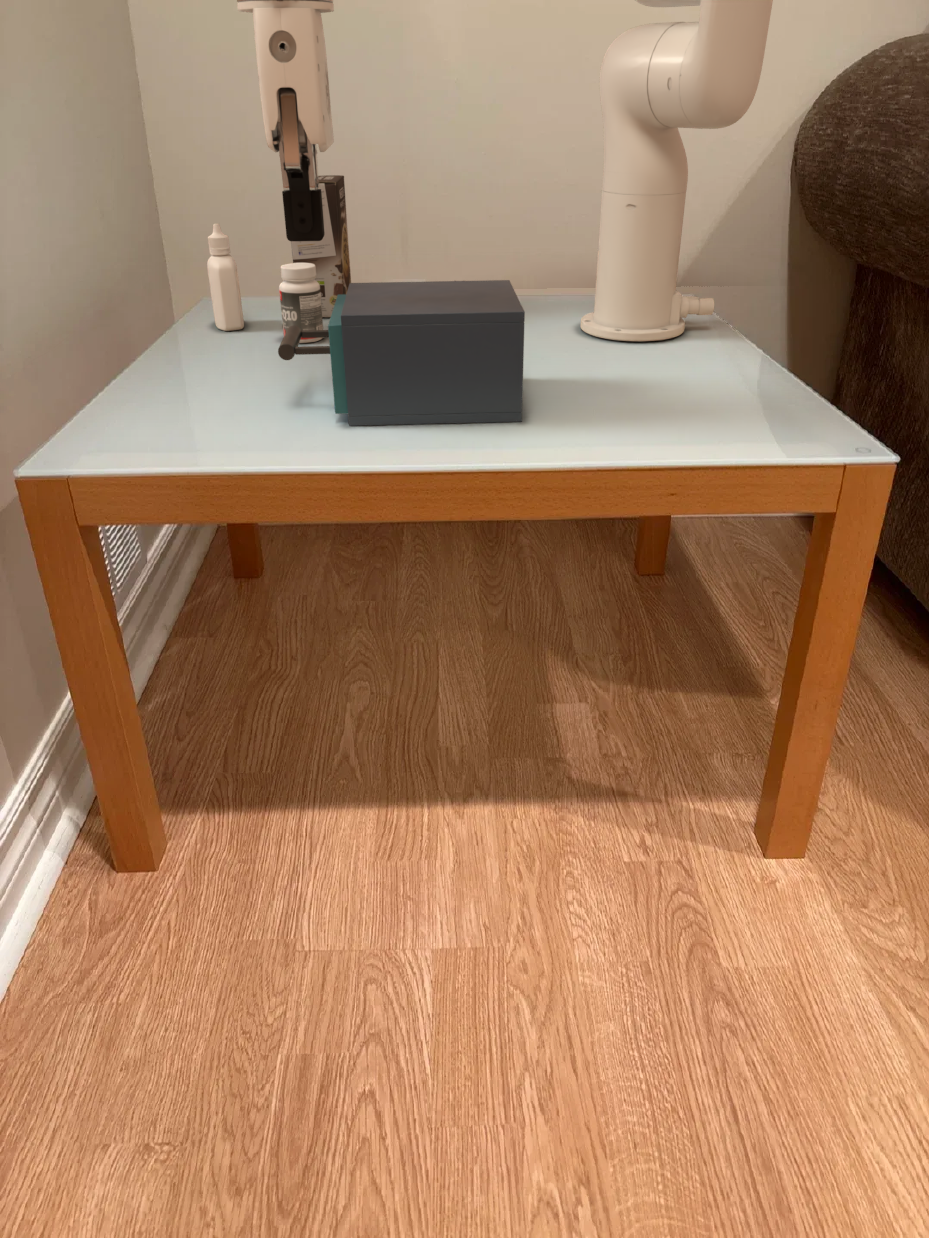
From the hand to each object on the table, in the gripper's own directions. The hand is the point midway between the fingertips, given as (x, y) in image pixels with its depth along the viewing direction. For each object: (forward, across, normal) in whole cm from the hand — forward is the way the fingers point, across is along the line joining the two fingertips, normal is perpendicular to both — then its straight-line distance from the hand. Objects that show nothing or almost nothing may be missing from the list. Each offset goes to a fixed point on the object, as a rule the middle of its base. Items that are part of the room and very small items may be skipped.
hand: (306, 239), depth 81 cm
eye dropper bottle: (+15, +32, +14) cm, 38 cm away
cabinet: (+15, 0, -11) cm, 19 cm away
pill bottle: (+15, +25, +4) cm, 30 cm away
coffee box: (+15, +40, +2) cm, 43 cm away
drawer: (+14, 0, -7) cm, 15 cm away
